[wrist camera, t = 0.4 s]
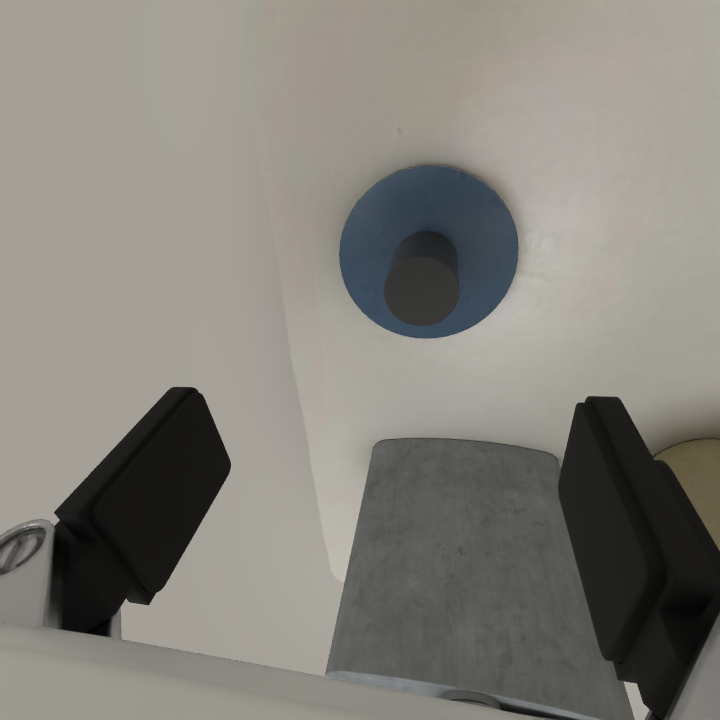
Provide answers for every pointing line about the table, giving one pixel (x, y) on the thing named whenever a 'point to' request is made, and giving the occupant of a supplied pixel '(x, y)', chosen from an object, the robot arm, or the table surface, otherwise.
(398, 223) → the lid
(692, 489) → the plant pot
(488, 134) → the table surface
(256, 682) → the robot arm
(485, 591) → the hip flask
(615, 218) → the table surface
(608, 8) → the table surface
